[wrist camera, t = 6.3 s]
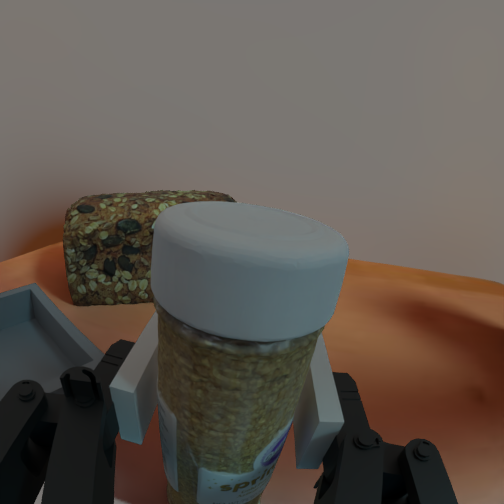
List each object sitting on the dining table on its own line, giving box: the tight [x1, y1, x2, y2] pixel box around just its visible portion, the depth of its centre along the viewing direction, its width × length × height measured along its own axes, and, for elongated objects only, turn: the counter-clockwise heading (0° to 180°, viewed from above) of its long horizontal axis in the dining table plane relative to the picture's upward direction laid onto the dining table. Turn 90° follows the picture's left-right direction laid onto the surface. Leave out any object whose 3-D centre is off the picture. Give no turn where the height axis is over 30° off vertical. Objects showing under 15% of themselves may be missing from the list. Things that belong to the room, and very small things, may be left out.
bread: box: [63, 190, 237, 306], centre depth 31 cm, size 19×11×10 cm, turn 116°
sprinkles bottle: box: [151, 201, 349, 504], centre depth 9 cm, size 5×5×13 cm
